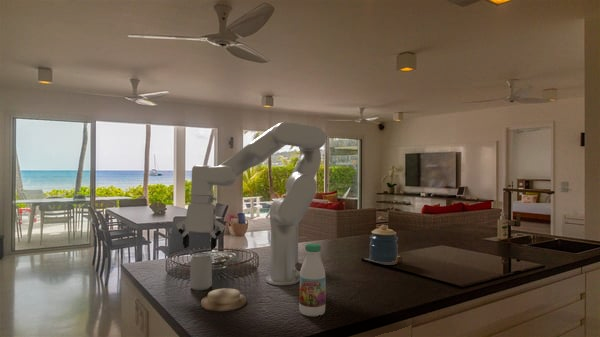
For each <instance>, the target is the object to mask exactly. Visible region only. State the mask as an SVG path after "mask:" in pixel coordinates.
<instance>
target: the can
mask: <svg viewBox="0 0 600 337" xmlns="http://www.w3.org/2000/svg"><path fill="white" fill-rule="evenodd" d="M189 263H190V270H189V272H190V273H189V287H190V288H191V289H192V290H194V291H205V290H208V289H210V287H211V286H212V285H213V283H212V281H213V278H212V277H213V258H212V257H211V254H210V253H209V252H197V253H194V254H193V253H192V257H190V262H189Z"/></svg>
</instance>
